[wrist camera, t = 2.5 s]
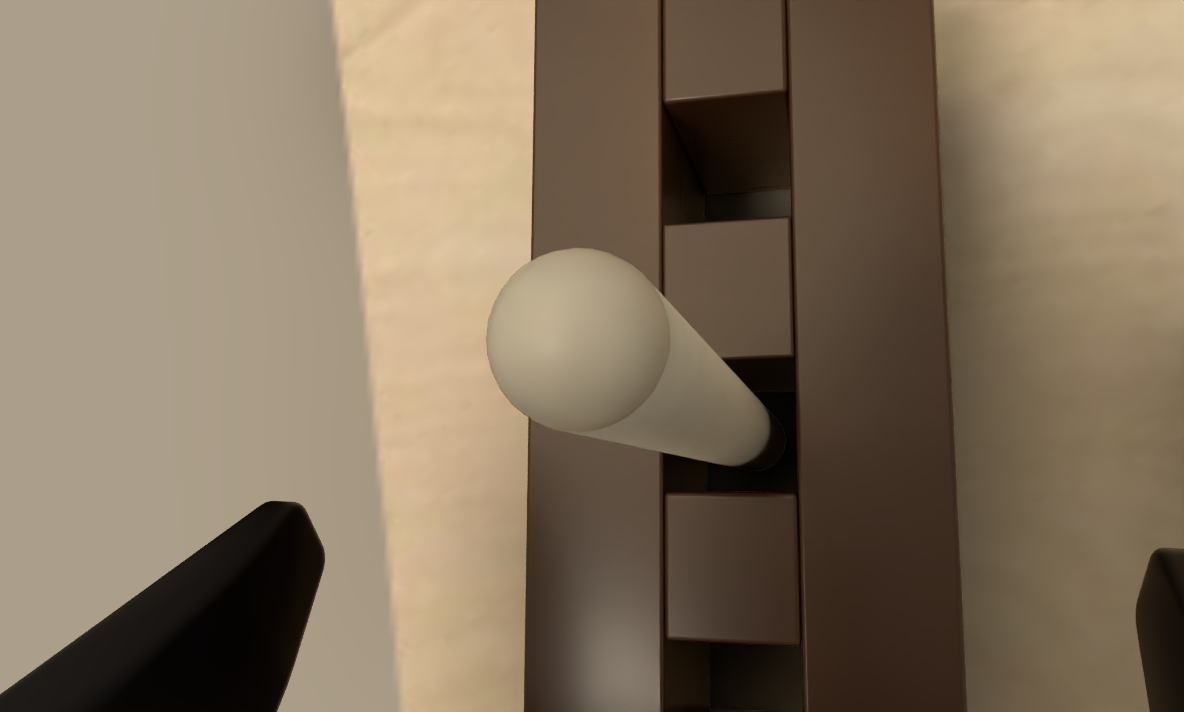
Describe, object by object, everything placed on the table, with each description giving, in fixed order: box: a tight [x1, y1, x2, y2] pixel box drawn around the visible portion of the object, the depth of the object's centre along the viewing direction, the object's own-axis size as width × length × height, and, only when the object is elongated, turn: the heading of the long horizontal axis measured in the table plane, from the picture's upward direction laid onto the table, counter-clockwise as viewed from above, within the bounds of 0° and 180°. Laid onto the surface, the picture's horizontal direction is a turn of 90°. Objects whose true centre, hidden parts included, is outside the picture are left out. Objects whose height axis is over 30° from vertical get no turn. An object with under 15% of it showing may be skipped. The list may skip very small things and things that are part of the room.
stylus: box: [486, 248, 786, 471], centre depth 12 cm, size 1×1×14 cm
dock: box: [524, 0, 967, 712], centre depth 17 cm, size 6×15×5 cm, turn 0°
